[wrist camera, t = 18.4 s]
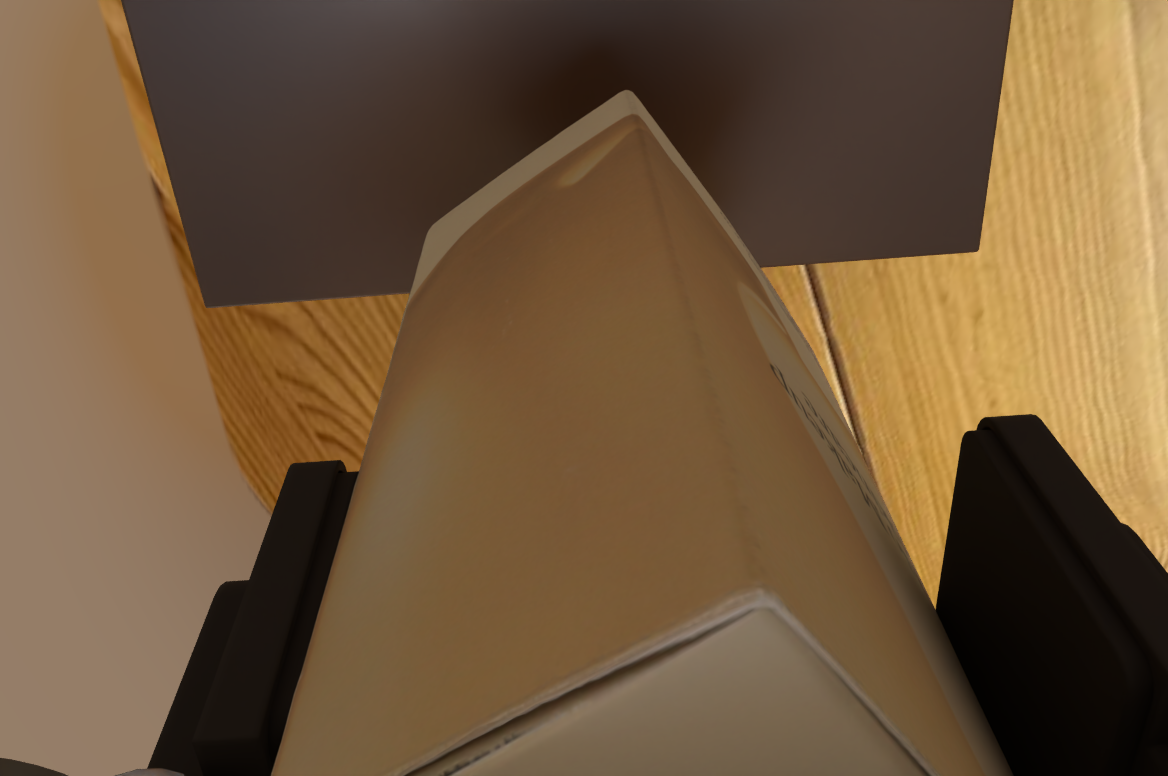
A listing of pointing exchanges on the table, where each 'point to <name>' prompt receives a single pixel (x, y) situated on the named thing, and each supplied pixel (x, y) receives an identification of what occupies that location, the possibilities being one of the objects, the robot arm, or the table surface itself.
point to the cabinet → (560, 121)
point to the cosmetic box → (618, 513)
